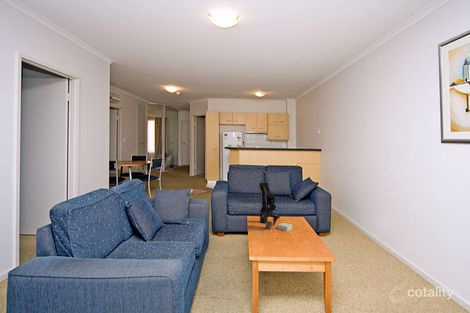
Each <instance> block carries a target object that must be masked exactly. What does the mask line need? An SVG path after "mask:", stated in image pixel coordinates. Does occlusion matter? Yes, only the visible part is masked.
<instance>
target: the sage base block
mask: <svg viewBox="0 0 470 313" xmlns="http://www.w3.org/2000/svg"><path fill="white" fill-rule="evenodd" d="M277 226H278V227H277V229H278V230H281V231H286V232H288V231H291V230H292V229H293V224H292V223H291V224H290V223H287V222H282V223H280V224H278V225H277Z"/></svg>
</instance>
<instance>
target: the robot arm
mask: <svg viewBox="0 0 470 313" xmlns="http://www.w3.org/2000/svg"><path fill="white" fill-rule="evenodd" d="M257 185H258V186H257V187H258V189H259V191H260V197H261V198H260V200H261V201H260V202H261V203H260V204H261V207H260V208H259V212H258V217H259V223H260V224H264V225H266V222H267V221H268V219H269V217H270V218H272V222H273V227H274V226H275V225H276V222H277V220H279V219H280V218H281V217H280V215H279V214H274V213H273V211H275V210H276V209H277V206H276V204H275V203H276V198H275V195H274V194H273V192H272V191H271V190H270V187H269V183H268V182H263V181H262V182H259V183H258V184H257Z"/></svg>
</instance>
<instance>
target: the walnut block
mask: <svg viewBox="0 0 470 313" xmlns="http://www.w3.org/2000/svg"><path fill="white" fill-rule="evenodd" d="M273 227H274V226H273V221H270V220H267V222H266V223H265V229H267V230H272V229H273Z"/></svg>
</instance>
